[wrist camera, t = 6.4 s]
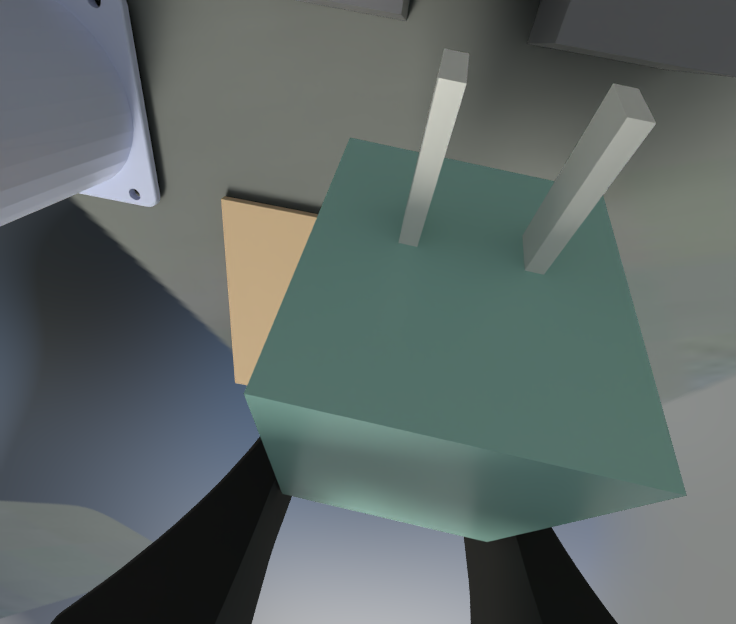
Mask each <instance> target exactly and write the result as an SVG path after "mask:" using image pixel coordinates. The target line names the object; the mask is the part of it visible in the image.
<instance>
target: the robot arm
mask: <svg viewBox="0 0 736 624" xmlns="http://www.w3.org/2000/svg"><path fill="white" fill-rule="evenodd" d="M134 189H135V190H137V191H138V192H139V194H140V197H139V196H138V195H137V194H136V193H135V191H134ZM77 193H80V194H85V195H91V196H96V197H101V198H106V199H111V200H116V201H121V202H126V203H132V204H137V205H142V206H147V207H152V206H154V205H156V204H158V203H159V201H160V192H159V186H158V180H157V174H156V168H155V162H154V157H153V151H152V145H151V139H150V133H149V127H148V121H147V116H146V110H145V104H144V98H143V92H142V86H141V80H140V75H139V69H138V63H137V57H136V51H135V45H134V40H133V34H132V28H131V22H130V16H129V10H128V5H127V1H126V0H101V5H100V7H99V6H98V5H97V4H96V2H95V0H0V226H1V225H4V224H7V223H9V222H11V221H13V220H16V219H18V218H21V217H23V216H25V215H28V214H30V213H32V212H35V211H37V210H39V209H42V208H44V207H46V206H49V205H51V204H53V203H56V202H58V201H61V200H63V199H65V198H68V197H70V196H72V195H75V194H77ZM291 497H292V496H290V495H285V494H282V492H281V489H280V486H279V484H278V481H277V479H276V476H275V473H274V471H273V468H272V466H271V463H270V460H269V458H268V455H267V453H266V450H265V447H264V445H263V442H262V440H261V437H259V438H258V440H257V441H256V442H255V443H254V445H253V446H252V447H251V448H250V449H249V451H248V452H247V453H246V454H245V455H244V456H243V457H242V458H241V459H240V461H239V462H238V463H237V464H236V465H235V466H234V467H233V468H232V469H231V471H230V472H229V473H228V474H227V475H226V476H225V477H224V478H223V479H222V480H221V481H220V482H219V483H218V484H217V485H216V486H215V487H214V488H213V489H212V490H211V491H210V492H209V493H208V494H207V495H206V496H205V497H204V498H203V499H202V500H201V501H200V502H199V503H198V504H197V505H196V506H194V507H193V508H192V509H191V510H190V511H189V512H188V513H187V514H186V515H184V517H182V518H181V519H180V520H179V521H178V522H177V523H176V524H175V525H174V526H172V527H171V528H170V529H169V530H168V531H166V532H165V533H164V534H163V535H162V536H161V537H159V539H157V540H156V541H155V542H153V543H152V544H151V545H150V546H148V547H147V548H146V549H145V550H143V551H142V552H141V553H140V554H138V555H137V556H136V557H135V558H133V559H132V560H131V561H130V562H128V563H127V564H126V565H125V566H123V567H122V568H121V569H120V570H118V571H117V572H116V573H114V574H113V575H112V576H110V577H109V578H108V579H106V580H105V581H104V582H102V583H101V584H99V585H98V586H97V587H95V588H94V589H93V590H91V591H90V592H88V593H87V594H86V595H84V596H83V597H82V598H80V599H79V600H78V601H76V602H75V603H73V604H72V605H71V606H69V607H68V608H66V609H65V610H64V611H62V612H61V613H60V614H59V615H57V616H56V618H55V619H54V620H53V621H52V622H51V624H252V620H253V616H254V613H255V609H256V605H257V602H258V598H259V594H260V591H261V587H262V584H263V580H264V577H265V573H266V569H267V566H268V562H269V559H270V555H271V552H272V549H273V546H274V543H275V540H276V538H277V535H278V532H279V530H280V527H281V524H282V522H283V519H284V516H285V513H286V511H287V508H288V505H289V503H290V500H291ZM464 543H465V551H466V559H467V569H468V578H469V589H470V609H471V611H470V612H471V624H618V623H617V622H616V621H615V619H614V618H613V617H612V616H611V614H610V613H609V612H608V610H607V609H606V608H605V606H604V605H603V604H602V602H601V601H600V600H599V598H598V597H597V595H596V594H595V593H594V591H593V590H592V588H591V587H590V586H589V584H588V583H587V581H586V580H585V579H584V577H583V576H582V574H581V573H580V571H579V570H578V568H577V567H576V565H575V564H574V562H573V561H572V559H571V558H570V556H569V555H568V553H567V552H566V550H565V548H564V547H563V545H562V544H561V542H560V540H559V539H558V537H557V536H556V534H555V532H554V531H553V529H552V527H549V528H545V529H541V530H537V531H532V532H528V533H524V534H519V535H515V536H511V537H506V538H502V539H498V540H494V541H489V542H485V541H481V540H477V539H472V538H468V537H464Z"/></svg>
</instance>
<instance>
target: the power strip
mask: <svg viewBox="0 0 736 624" xmlns="http://www.w3.org/2000/svg"><path fill="white" fill-rule="evenodd" d="M296 1H302V2H307V3H312V4H318V5H323V6H328V7H334V8H339V9H344V10H350V11H355V12H360V13H366V14H371V15H376V16H382V17H387V18H392V19H398V20H403V21H406V20H407V14H408V8H409V2H410V0H296ZM527 44H532V45H537V46H542V47H548V48H553V49H558V50H564V51H569V52H574V53H580V54H585V55H590V56H596V57H601V58H606V59H612V60H617V61H622V62H628V63H633V64H639V65H644V66H649V67H655V68H660V69H665V70H672V71H682V72H691V73H701V74H711V75H720V76H730V77H736V0H541V2H540V5H539V8H538V11H537V14H536V17H535V20H534V24H533V27H532V30H531V33H530V36H529V39H528V42H527Z"/></svg>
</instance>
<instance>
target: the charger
mask: <svg viewBox="0 0 736 624" xmlns="http://www.w3.org/2000/svg"><path fill="white" fill-rule="evenodd" d="M468 62H469V53H464V52H459V51H455V50H450V49H445V48H444V51H443V55H442V59H441V63H440V67H439V71H438V76H437V80H436V84H435V88H434V92H433V96H432V101H431V105H430V109H429V113H428V117H427V121H426V126H425V130H424V134H423V138H422V142H421V147H420V151H419V152H415V151H410V150H406V149H401V148H396V147H392V146H387V145H382V144H377V143H373V142H368V141H363V140H359V139H354V138H350V139H349V142H348V144H347V146H346V149H345V151H344V154H343V156H342V158H341V161H340V163H339V166H338V168H337V171H336V173H335V175H334V178H333V180H332V183H331V185H330V187H329V190H328V192H327V195H326V197H325V199H324V202H323V204H322V207H321V209H320V211H319V214H318V216H317V219H316V221H315V224H314V226H313V228H312V231H311V233H310V236H309V238H308V240H307V243H306V245H305V248H304V250H303V252H302V255H301V257H300V260H299V262H298V264H297V267H296V269H295V272H294V274H293V277H292V279H291V281H290V284H289V286H288V289H287V291H286V293H285V296H284V298H283V301H282V303H281V305H280V308H279V310H278V313H277V315H276V317H275V320H274V322H273V325H272V327H271V330H270V332H269V334H268V337H267V339H266V342H265V344H264V346H263V349H262V351H261V354H260V356H259V358H258V361H257V363H256V366H255V368H254V370H253V373H252V375H251V378H250V380H249V383H248V385H247V387H246V390H245V392H244V395H245V398H246V400H247V403H248V406H249V408H250V411H251V413H252V416H253V419H254V421H255V424H256V427H257V429H258V432H259V434H260V437H261V440H262V442H263V445H264V447H265V450H266V453H267V455H268V458H269V460H270V463H271V466H272V468H273V471H274V473H275V476H276V479H277V481H278V484H279V486H280V489H281V492H282V494H285V495H290V496H294V497H298V498H302V499H307V500H311V501H315V502H319V503H324V504H328V505H332V506H337V507H341V508H345V509H350V510H354V511H358V512H362V513H366V514H371V515H375V516H379V517H383V518H388V519H392V520H396V521H400V522H404V523H409V524H413V525H417V526H421V527H426V528H430V529H434V530H438V531H443V532H447V533H451V534H455V535H460V536H464V537H468V538H472V539H477V540H481V541H485V542H489V541H494V540H498V539H502V538H506V537H511V536H515V535H519V534H524V533H528V532H532V531H537V530H541V529H545V528H549V527H553V526H558V525H562V524H567V523H571V522H575V521H579V520H584V519H588V518H592V517H597V516H601V515H605V514H610V513H613V512H618V511H622V510H627V509H631V508H635V507H640V506H644V505H648V504H652V503H656V502H661V501H665V500H670V499H674V498H678V497H683V496H686V491H685V488H684V484H683V481H682V477H681V474H680V470H679V466H678V463H677V459H676V456H675V452H674V449H673V445H672V441H671V438H670V434H669V430H668V427H667V424H666V420H665V416H664V413H663V409H662V405H661V402H660V398H659V395H658V391H657V387H656V384H655V380H654V377H653V373H652V369H651V366H650V362H649V359H648V355H647V352H646V348H645V344H644V341H643V337H642V334H641V330H640V326H639V323H638V319H637V316H636V312H635V308H634V305H633V301H632V298H631V294H630V291H629V287H628V283H627V280H626V276H625V273H624V269H623V265H622V262H621V258H620V255H619V251H618V248H617V244H616V240H615V237H614V233H613V230H612V226H611V222H610V219H609V215H608V212H607V208H606V204H605V201H604V197H603V194H604V193H605V192H606V190H607V189H608V188H609V186H610V185H611V184H612V182H613V181H614V179H615V178H616V177H617V175H618V174H619V173H620V171H621V170H622V169H623V167H624V166H625V165H626V163H627V162H628V161H629V159H630V158H631V157H632V155H633V154H634V153H635V151H636V150H637V148H638V147H639V146H640V144H641V143H642V142H643V140H644V139H645V138H646V136H647V135H648V134H649V132H650V131H651V130H652V128H653V127H654V126H655V124H656V122H655V120H654V118H653V116H652V114H651V112H650V110H649V108H648V106H647V104H646V102H645V100H644V98H643V96H642V94H641V92H640V90H639V89H638V88H633V87H628V86H623V85H619V84H614V83H613V84H612V86H611V88H610V89H609V91H608V93H607V95H606V96H605V98H604V100H603V101H602V103H601V105H600V106H599V108H598V110H597V111H596V113H595V115H594V116H593V118H592V120H591V121H590V123H589V125H588V126H587V128H586V130H585V131H584V133H583V135H582V136H581V138H580V140H579V142H578V143H577V145H576V147H575V148H574V150H573V152H572V153H571V155H570V157H569V158H568V160H567V162H566V163H565V165H564V167H563V168H562V170H561V172H560V173H559V175H558V177H557V178H556V180H555V181H551V180H546V179H541V178H537V177H532V176H527V175H523V174H518V173H513V172H508V171H504V170H499V169H494V168H490V167H485V166H480V165H476V164H471V163H466V162H462V161H457V160H452V159H448V158H444V157H445V153H446V150H447V147H448V143H449V140H450V137H451V133H452V130H453V127H454V124H455V120H456V117H457V114H458V110H459V107H460V104H461V100H462V97H463V94H464V90H465V87H466V84H467V73H468Z"/></svg>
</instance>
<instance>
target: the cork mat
mask: <svg viewBox="0 0 736 624" xmlns="http://www.w3.org/2000/svg"><path fill="white" fill-rule="evenodd" d="M221 202H222V215H223V229H224V242H225V255H226V268H227V281H228V294H229V308H230V321H231V334H232V347H233V360H234V373H235V383H239V384H244V385H248V383H249V380H250V378H251V375H252V373H253V370H254V368H255V366H256V363H257V361H258V358H259V356H260V354H261V351H262V349H263V346H264V344H265V342H266V339H267V337H268V334H269V332H270V330H271V327H272V325H273V322H274V320H275V317H276V315H277V313H278V310H279V308H280V305H281V303H282V301H283V298H284V296H285V293H286V291H287V289H288V286H289V284H290V281H291V279H292V277H293V274H294V272H295V269H296V267H297V264H298V262H299V260H300V257H301V255H302V252H303V250H304V248H305V245H306V243H307V240H308V238H309V236H310V233H311V231H312V228H313V226H314V224H315V221H316V219H317V216H318V214H314V213H309V212H304V211H299V210H294V209H289V208H283V207H278V206H273V205H268V204H263V203H258V202H253V201H247V200H242V199H237V198H232V197H227V196H225V197H223V198H222V199H221Z"/></svg>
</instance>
